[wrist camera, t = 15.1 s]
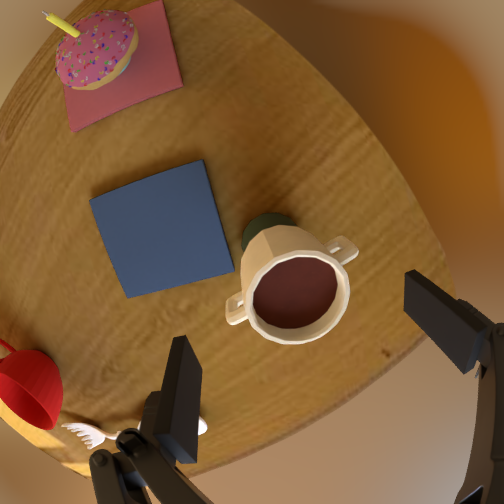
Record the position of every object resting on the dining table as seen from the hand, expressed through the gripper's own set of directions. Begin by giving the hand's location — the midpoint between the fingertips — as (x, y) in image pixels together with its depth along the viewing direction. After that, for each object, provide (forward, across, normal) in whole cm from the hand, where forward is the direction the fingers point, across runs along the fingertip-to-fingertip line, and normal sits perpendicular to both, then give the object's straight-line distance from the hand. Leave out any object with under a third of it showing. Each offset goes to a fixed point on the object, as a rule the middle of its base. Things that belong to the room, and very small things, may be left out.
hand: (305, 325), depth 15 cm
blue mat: (+16, -11, +4) cm, 19 cm away
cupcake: (+15, -11, +24) cm, 30 cm away
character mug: (+16, 0, 0) cm, 16 cm away
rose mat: (+16, -11, +24) cm, 31 cm away
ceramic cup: (+16, -42, -9) cm, 46 cm away
